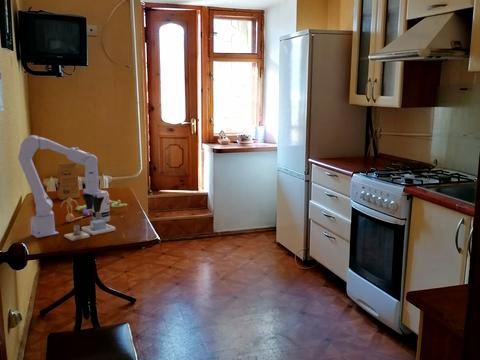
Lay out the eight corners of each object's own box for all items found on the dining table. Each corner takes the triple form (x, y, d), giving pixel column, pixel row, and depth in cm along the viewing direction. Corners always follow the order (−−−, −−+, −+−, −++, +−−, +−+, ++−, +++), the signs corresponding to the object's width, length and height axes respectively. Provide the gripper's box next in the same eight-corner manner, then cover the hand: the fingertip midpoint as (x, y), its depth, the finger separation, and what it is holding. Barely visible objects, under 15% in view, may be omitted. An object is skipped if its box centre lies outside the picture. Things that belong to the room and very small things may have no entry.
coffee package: (57, 197, 284) (54, 162, 280) (78, 195, 289) (76, 160, 285) (58, 200, 275) (56, 164, 271) (80, 198, 280) (78, 162, 277)
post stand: (72, 240, 194) (71, 229, 194) (64, 236, 200) (63, 225, 199) (89, 237, 200) (89, 225, 199) (82, 233, 206) (81, 222, 205)
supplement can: (92, 220, 228) (90, 190, 226) (109, 218, 231) (108, 189, 228) (93, 224, 221) (91, 193, 218) (110, 222, 223) (109, 192, 221)
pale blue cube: (106, 229, 210) (105, 221, 209) (94, 232, 206) (93, 223, 205) (100, 227, 213) (100, 219, 213) (89, 229, 210) (88, 221, 209)
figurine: (61, 223, 222) (59, 199, 220) (62, 220, 228) (60, 196, 226) (79, 222, 225) (77, 198, 223) (79, 219, 230) (78, 195, 228)
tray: (92, 235, 202) (92, 231, 202) (81, 230, 210) (81, 227, 210) (115, 230, 210) (115, 227, 210) (104, 225, 218) (103, 222, 217)
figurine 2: (128, 213, 244) (127, 203, 243) (75, 217, 236) (74, 206, 235) (125, 206, 261) (125, 196, 260) (76, 209, 253) (75, 199, 252)
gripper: (107, 182, 204) (109, 212, 206) (93, 178, 215) (94, 206, 217) (92, 184, 199) (94, 214, 202) (78, 180, 210) (80, 208, 212)
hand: (93, 210), depth 209 cm, fingers open, 7 cm apart
